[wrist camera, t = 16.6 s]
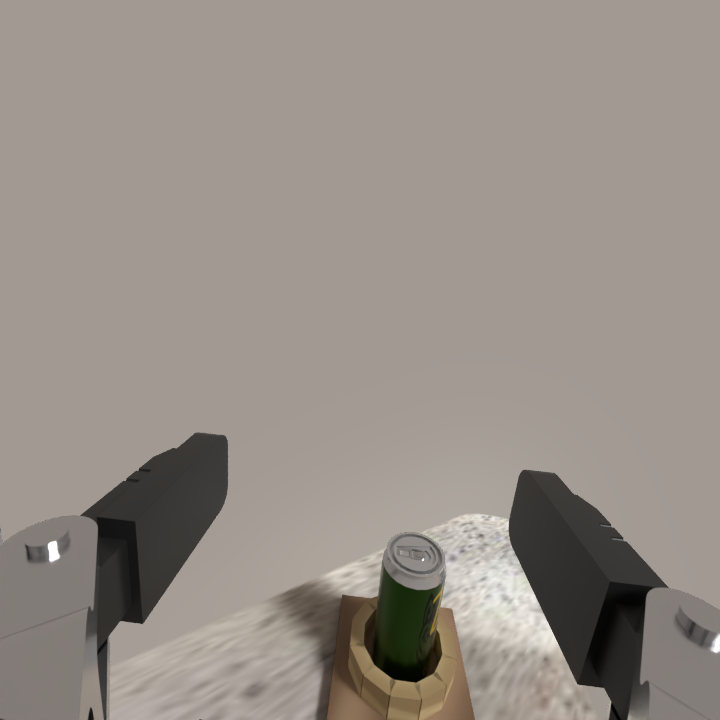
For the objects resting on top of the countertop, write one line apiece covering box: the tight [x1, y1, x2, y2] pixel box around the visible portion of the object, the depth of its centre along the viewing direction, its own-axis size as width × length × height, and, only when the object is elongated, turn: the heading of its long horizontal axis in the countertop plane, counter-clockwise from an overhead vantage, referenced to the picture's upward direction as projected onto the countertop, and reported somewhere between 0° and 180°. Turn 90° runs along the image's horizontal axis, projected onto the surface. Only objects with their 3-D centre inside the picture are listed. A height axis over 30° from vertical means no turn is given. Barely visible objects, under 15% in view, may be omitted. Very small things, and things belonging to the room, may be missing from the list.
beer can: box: [371, 532, 446, 683], centre depth 31 cm, size 5×5×12 cm
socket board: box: [327, 595, 475, 720], centre depth 33 cm, size 12×12×4 cm
